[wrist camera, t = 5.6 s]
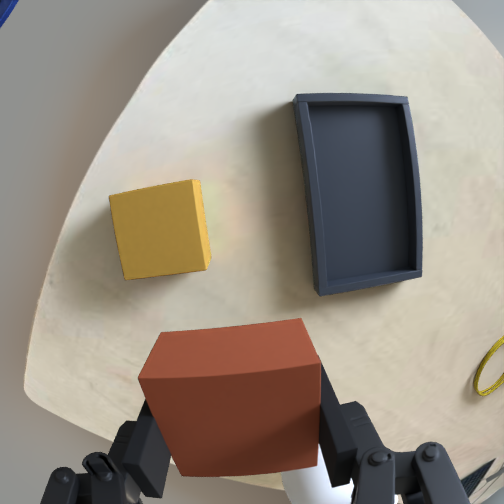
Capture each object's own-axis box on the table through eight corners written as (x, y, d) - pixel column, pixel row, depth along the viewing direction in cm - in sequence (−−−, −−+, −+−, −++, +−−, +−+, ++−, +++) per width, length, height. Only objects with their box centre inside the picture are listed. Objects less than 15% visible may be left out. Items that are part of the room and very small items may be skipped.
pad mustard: (126, 194, 25) (108, 195, 21) (199, 180, 25) (192, 179, 21) (139, 267, 26) (124, 280, 22) (211, 258, 26) (206, 270, 23)
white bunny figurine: (320, 471, 34) (340, 548, 20) (258, 452, 32) (265, 545, 18) (380, 422, 32) (422, 502, 18) (321, 396, 30) (359, 499, 16)
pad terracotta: (160, 331, 14) (137, 377, 10) (301, 317, 14) (321, 362, 10) (190, 427, 15) (181, 476, 12) (304, 417, 15) (317, 466, 12)
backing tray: (292, 100, 24) (296, 93, 22) (397, 101, 24) (407, 96, 22) (313, 289, 27) (319, 296, 25) (412, 271, 28) (422, 277, 26)
